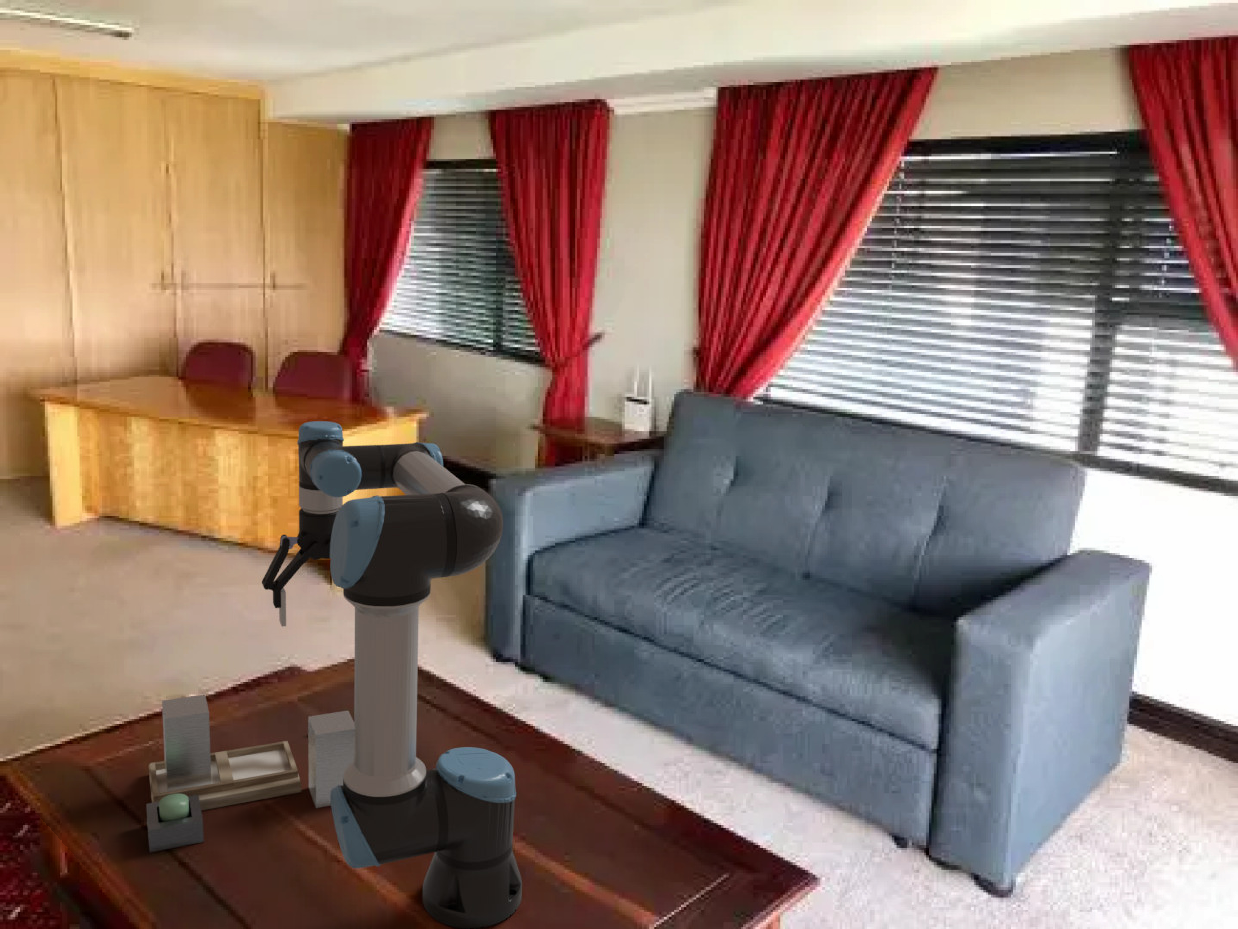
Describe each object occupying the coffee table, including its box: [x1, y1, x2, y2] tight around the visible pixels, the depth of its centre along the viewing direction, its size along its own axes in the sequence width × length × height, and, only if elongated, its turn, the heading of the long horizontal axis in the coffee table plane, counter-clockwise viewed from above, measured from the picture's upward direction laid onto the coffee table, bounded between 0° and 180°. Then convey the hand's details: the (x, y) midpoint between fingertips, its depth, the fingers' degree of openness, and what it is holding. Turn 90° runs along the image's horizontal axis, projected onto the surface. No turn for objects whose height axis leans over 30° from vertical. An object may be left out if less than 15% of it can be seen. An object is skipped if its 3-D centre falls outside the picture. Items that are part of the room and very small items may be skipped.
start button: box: [159, 794, 189, 823], centre depth 167 cm, size 4×4×3 cm
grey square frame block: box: [145, 795, 205, 853], centre depth 168 cm, size 8×8×4 cm
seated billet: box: [161, 694, 211, 792], centre depth 179 cm, size 7×7×14 cm
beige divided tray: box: [148, 740, 302, 811], centre depth 183 cm, size 15×24×3 cm, turn 117°
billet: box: [307, 710, 354, 809], centre depth 181 cm, size 7×7×14 cm
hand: (321, 619), depth 188 cm, fingers open, 13 cm apart
